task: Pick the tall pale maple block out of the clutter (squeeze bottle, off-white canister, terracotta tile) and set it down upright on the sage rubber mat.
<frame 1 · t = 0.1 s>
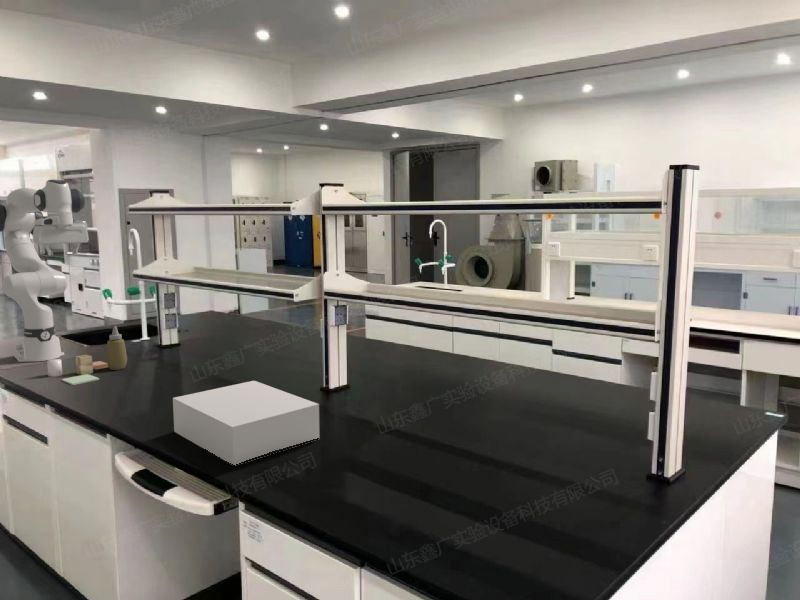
hand: (63, 254, 250), 48 cm above the counter, fingers open, 8 cm apart
maple block: (85, 373, 251), on the counter
mat: (80, 380, 240), on the counter
terracotta tile: (98, 367, 261), on the counter
canister: (55, 375, 248), on the counter
box: (245, 437, 181), on the counter
squeeze bottle: (117, 369, 258), on the counter
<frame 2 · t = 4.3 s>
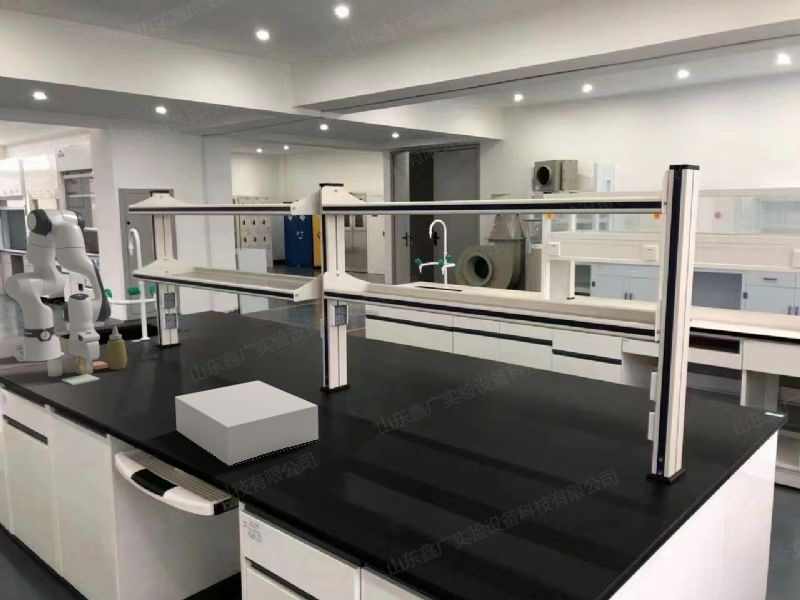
hand: (84, 367, 251), 2 cm above the counter, fingers closed on maple block, 4 cm apart
maple block: (85, 373, 251), on the counter, touching gripper
when the fingers open (4 cm above the counter, at t = 10.1 s): maple block stays where it is, resting on mat.
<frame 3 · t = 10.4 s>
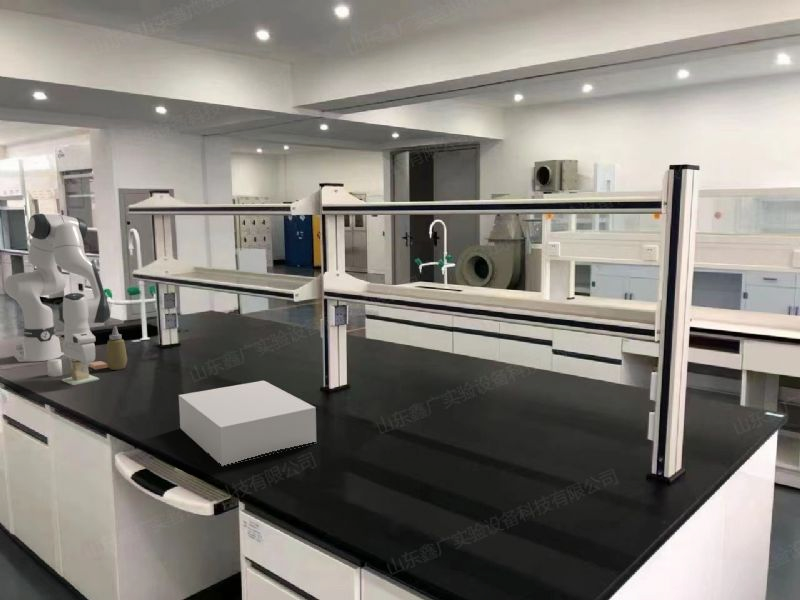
hand: (79, 370, 240), 4 cm above the counter, fingers open, 7 cm apart
maple block: (80, 378, 240), point 1 cm above the counter, touching mat
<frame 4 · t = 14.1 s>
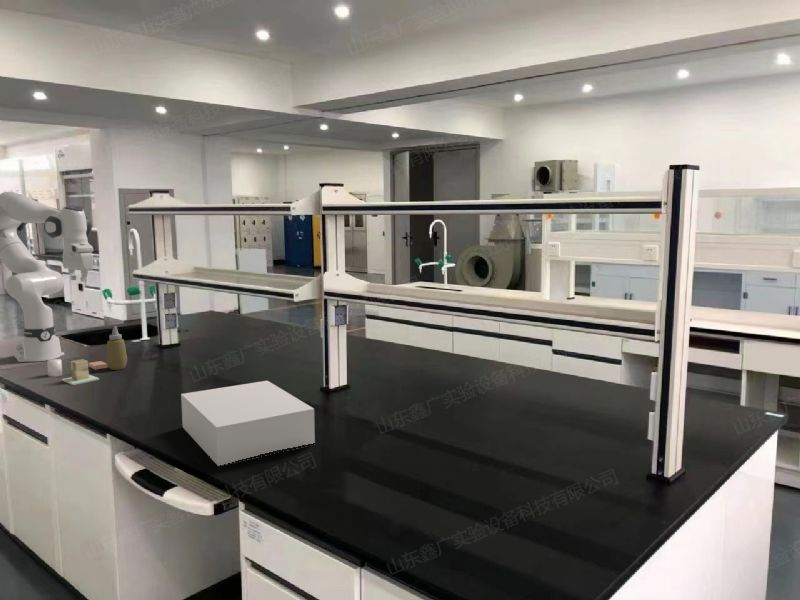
hand: (78, 280, 253), 37 cm above the counter, fingers open, 8 cm apart
at the end: maple block inside the target area on the mat (0.1 cm from its centre), point 0.6 cm above the mat's base; maple block tilted 0°; the gripper is holding nothing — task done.
